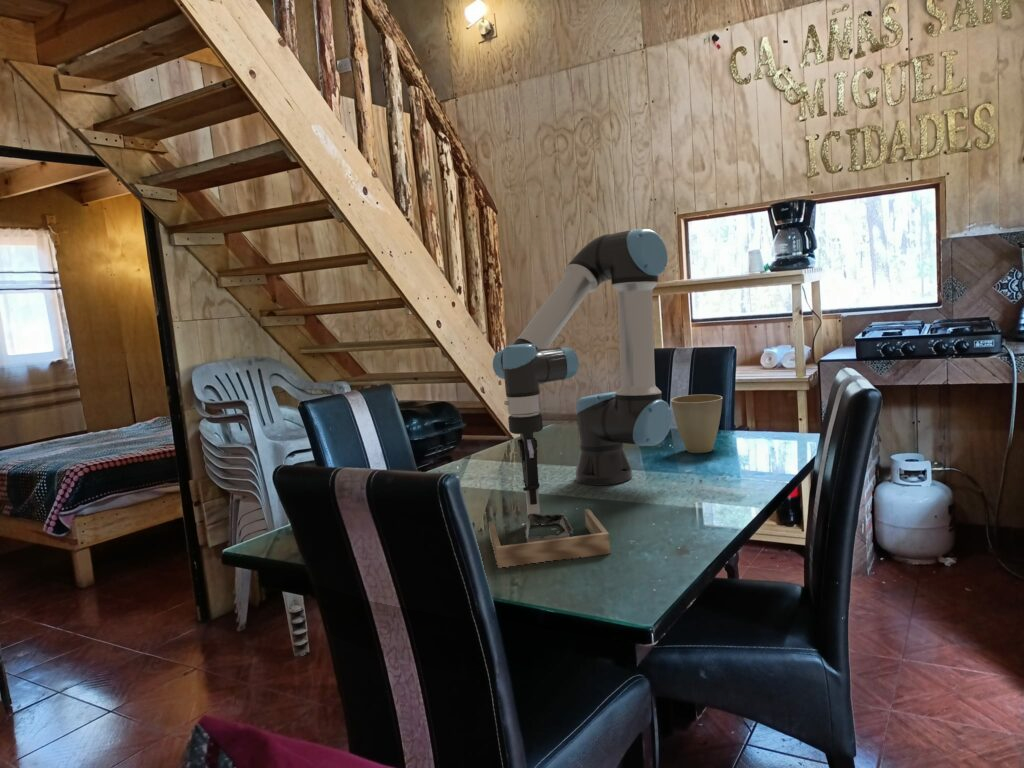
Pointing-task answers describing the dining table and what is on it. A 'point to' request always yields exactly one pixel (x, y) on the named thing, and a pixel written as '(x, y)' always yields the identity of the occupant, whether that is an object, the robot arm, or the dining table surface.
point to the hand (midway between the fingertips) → (534, 516)
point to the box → (553, 546)
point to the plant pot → (698, 420)
